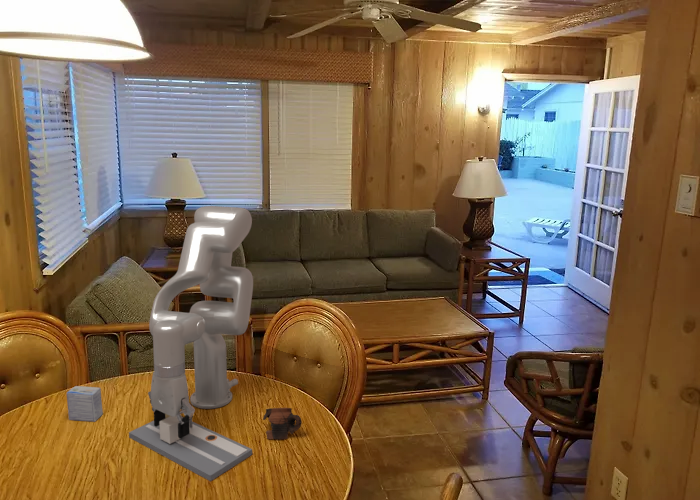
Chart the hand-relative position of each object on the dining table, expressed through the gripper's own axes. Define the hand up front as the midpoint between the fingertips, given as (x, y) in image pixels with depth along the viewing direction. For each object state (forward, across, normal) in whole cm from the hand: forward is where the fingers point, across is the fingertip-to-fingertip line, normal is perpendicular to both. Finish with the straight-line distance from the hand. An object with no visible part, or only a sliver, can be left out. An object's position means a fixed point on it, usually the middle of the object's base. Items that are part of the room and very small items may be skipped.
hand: (171, 430), depth 146 cm
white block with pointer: (+2, 0, +2) cm, 3 cm away
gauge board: (+4, +4, +3) cm, 6 cm away
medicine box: (+4, -31, -5) cm, 32 cm away
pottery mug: (+4, +19, +22) cm, 30 cm away
